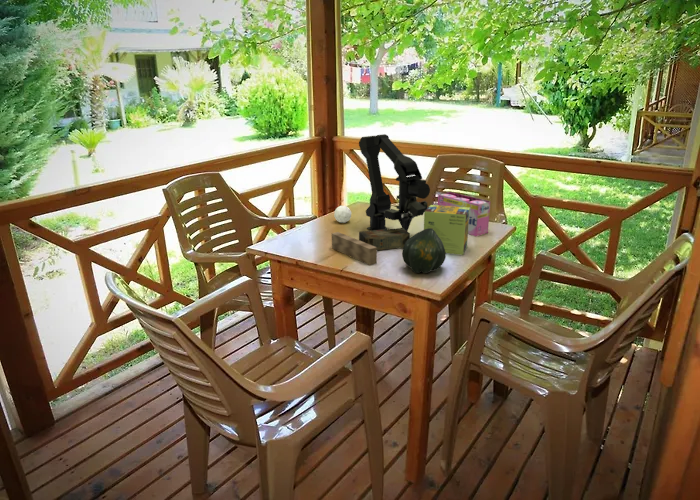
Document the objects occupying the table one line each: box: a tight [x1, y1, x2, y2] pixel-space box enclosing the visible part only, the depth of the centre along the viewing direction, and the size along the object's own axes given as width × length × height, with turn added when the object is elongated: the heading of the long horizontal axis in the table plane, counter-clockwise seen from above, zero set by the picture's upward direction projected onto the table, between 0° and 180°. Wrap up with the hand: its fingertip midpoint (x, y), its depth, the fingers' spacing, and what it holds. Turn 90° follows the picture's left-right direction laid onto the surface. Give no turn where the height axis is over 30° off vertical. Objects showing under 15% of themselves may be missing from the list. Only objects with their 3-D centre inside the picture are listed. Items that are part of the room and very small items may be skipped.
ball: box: [333, 205, 352, 224], centre depth 223 cm, size 8×8×8 cm
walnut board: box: [331, 231, 378, 266], centre depth 183 cm, size 23×3×6 cm, turn 37°
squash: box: [401, 228, 447, 274], centre depth 169 cm, size 14×15×15 cm
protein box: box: [423, 204, 470, 256], centre depth 187 cm, size 10×15×16 cm
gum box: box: [437, 191, 491, 237], centre depth 211 cm, size 24×8×14 cm, turn 37°
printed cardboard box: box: [358, 227, 411, 251], centre depth 191 cm, size 8×19×6 cm, turn 106°
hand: (405, 231), depth 198 cm, fingers closed
